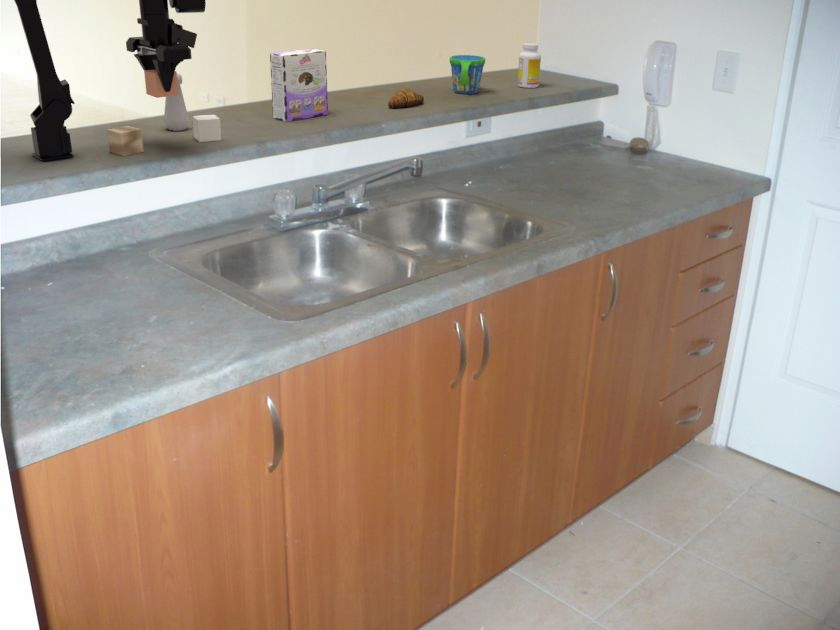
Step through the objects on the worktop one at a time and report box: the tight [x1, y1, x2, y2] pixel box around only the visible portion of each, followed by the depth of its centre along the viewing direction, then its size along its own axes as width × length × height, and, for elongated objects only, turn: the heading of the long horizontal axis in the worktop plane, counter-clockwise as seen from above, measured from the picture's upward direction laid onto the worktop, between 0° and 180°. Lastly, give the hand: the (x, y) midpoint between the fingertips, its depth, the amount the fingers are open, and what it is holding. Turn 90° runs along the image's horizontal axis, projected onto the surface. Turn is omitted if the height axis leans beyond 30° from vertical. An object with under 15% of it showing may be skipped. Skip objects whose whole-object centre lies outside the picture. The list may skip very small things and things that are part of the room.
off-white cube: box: [192, 114, 222, 143], centre depth 202 cm, size 5×5×5 cm
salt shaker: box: [163, 73, 190, 132], centre depth 209 cm, size 6×6×13 cm
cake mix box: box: [269, 47, 329, 123], centre depth 224 cm, size 14×6×16 cm, turn 134°
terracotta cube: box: [143, 69, 179, 99], centre depth 190 cm, size 5×5×5 cm
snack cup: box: [449, 54, 486, 95], centre depth 262 cm, size 16×10×10 cm
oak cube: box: [106, 125, 145, 157], centre depth 190 cm, size 5×5×5 cm
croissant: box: [387, 87, 425, 109], centre depth 243 cm, size 14×7×5 cm, turn 139°
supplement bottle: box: [517, 42, 542, 89], centre depth 273 cm, size 7×7×13 cm
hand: (162, 89), depth 190 cm, fingers closed on terracotta cube, 5 cm apart
